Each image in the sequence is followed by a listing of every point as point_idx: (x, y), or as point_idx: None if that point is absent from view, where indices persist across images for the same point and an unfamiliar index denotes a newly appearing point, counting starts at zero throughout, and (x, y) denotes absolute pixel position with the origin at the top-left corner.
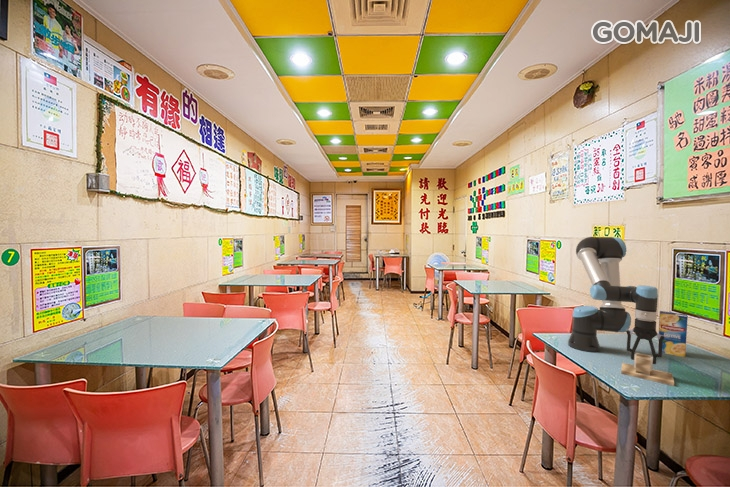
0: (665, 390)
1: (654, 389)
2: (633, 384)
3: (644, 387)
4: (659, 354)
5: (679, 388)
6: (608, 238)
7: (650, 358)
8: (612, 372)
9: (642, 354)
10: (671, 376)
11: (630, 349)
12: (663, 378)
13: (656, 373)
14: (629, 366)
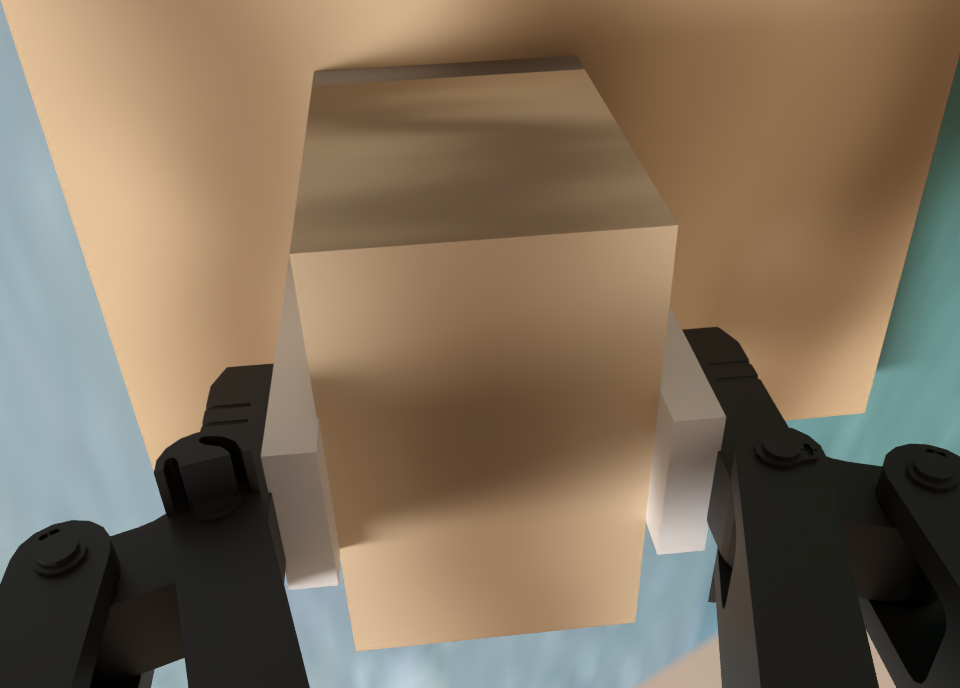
0: (698, 584)
1: (588, 636)
2: (382, 664)
3: (492, 658)
4: (897, 633)
5: (885, 410)
6: None
7: (643, 502)
8: (58, 486)
9: (460, 311)
10: (918, 134)
11: (157, 660)
12: (750, 352)
13: (680, 180)
14: (200, 146)
